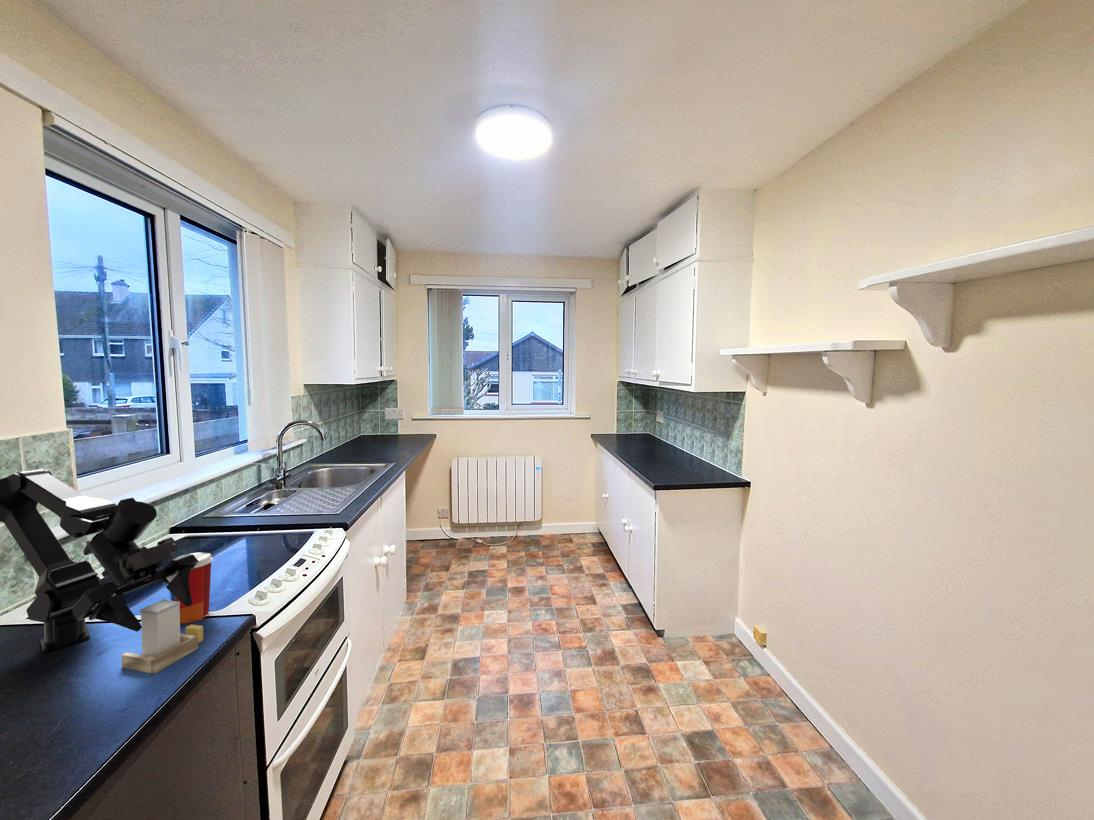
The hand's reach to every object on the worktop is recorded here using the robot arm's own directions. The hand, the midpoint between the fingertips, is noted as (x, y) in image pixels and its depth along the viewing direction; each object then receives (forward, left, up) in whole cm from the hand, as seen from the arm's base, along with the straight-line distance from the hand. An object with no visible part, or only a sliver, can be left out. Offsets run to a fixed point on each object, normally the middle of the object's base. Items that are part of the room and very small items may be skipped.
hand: (166, 616), depth 84 cm
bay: (-1, -1, -8) cm, 8 cm away
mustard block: (-3, +5, -8) cm, 10 cm away
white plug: (-1, -1, -8) cm, 9 cm away
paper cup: (-15, +7, -9) cm, 19 cm away
